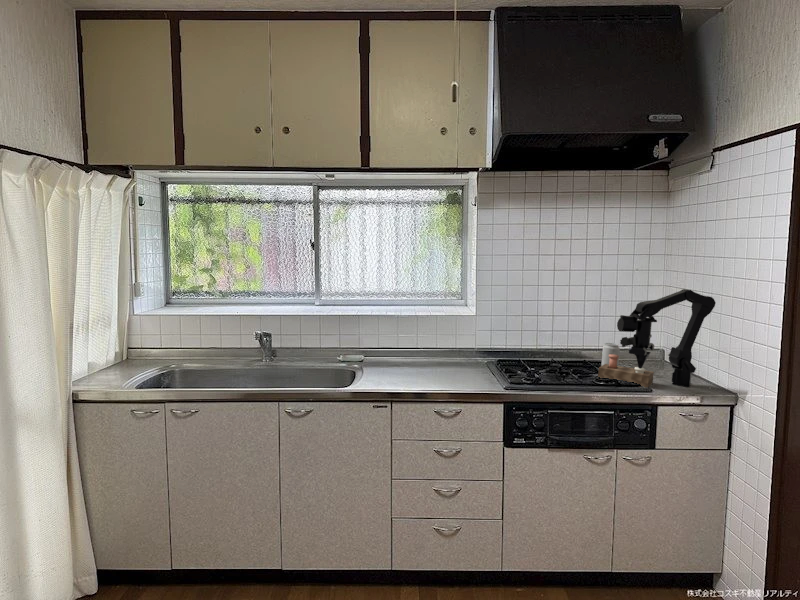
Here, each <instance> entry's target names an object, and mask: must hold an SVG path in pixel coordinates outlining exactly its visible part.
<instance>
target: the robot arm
mask: <svg viewBox="0 0 800 600" xmlns="http://www.w3.org/2000/svg"><path fill="white" fill-rule="evenodd" d="M684 301H687V302H689V303H691V316H690V318H689V320H688V323H687V325H686V328H685V330H684V332H683V335H682V337H681V340H680V342H679V344H678V345H677V346H676V347H674V346H672V347H671V348H670V352H669V354H668V355H667V356H668V362H669V364H671V368H672V369H674V370H673V372H672V373H671V384H672V385H676V386H680V387H687V388H690V387H691V385H692V383H691V382H692V374H693V373H695V372H696V369H697V367H695V365H694V364H693V363H692V358H693V355H692V349H693V346H694V343H695V342H696V338H697V337H698V334H699V332H700V329H701V327H702V325H703V323H704V321H705V318H706V317H707V316H709V315H710V314H711V313H712V311H713V310H714V308H715V307H716V300H715V298H713V297H712V296H709V295H703V294H701V293H697V292H695V291H693V290H692V289H686V288H683V289H680V290H678V291H677V292H674V293H671V294H669V295H665V296H663V297H661V298H657V299H654V300H652V299H651V300H644V301H641V302H638V303H637V304H636V306H635V308H634V310H633V311H632V312H631V313H630V314H629V315H620V316H619V319H618V320H617V323H616V324H617V325H616V326H617V327H616V328H617V330H618V331H619V332H627V333H629V332H631V333H634V332H635V334H633V336H630V337H627V336H625V337H624V336H623V337H621V339H620V342H619V343H620V345H621V347H622V348H625V347H629V346H631V347H630V348H628V354H630V355H634V356H635V358H636V361H637V367H638V368H640V369H641V368H644V365H645V363H646V362H647V360H648V358H649V356H650V355H651V351H655V344H654V343H653V342H651V338H652V334H651V333H652V323H658V320H657V319H655V317H654V316H655V315H656V314H658V313H659V312H661V310H663V309H665V308H669V307H671V306H674V305H676V304H679V303H682V302H684ZM648 350H651V351H648ZM689 386H690V387H689Z"/></svg>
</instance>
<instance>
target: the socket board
mask: <svg viewBox="0 0 800 600" xmlns="http://www.w3.org/2000/svg"><path fill="white" fill-rule="evenodd" d="M634 369H635V367H634V368H633V367H627V366H622V365H620V366H619V365H618V366H617V369H613V368H609V364H604V365H603V366H601V365H600V366H599V367H598V372H597V373H598V374H597V378H598V377H600V378H609V379H617V380H623V381H627V382H634V383H637V384H640V385H641V386H644V387H643V388H646V387H647V389H648V388H649V387H650V386H651V385H653V383H654V373H655V372H654V371H651V370H647V369H645V371H644V374H643V373H637V372H636V370H634Z"/></svg>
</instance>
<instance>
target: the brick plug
mask: <svg viewBox="0 0 800 600" xmlns="http://www.w3.org/2000/svg"><path fill="white" fill-rule="evenodd" d="M609 357H610V360H609V368H613V369H617V359H618V358H619V359H620V355H619V356H618V355H614V354H609Z"/></svg>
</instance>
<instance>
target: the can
mask: <svg viewBox="0 0 800 600" xmlns="http://www.w3.org/2000/svg"><path fill="white" fill-rule="evenodd" d="M620 349H621V348H620V346H619V344H617V343H614V342H605V343H604V345H603V346H602V354H601V363H600V367H601V366H603V365H604V364H609V360H610V357H609V354H614V355H618V356H619V358H618V359H617V366H619V365H620V364H619V362H620V361H619V360H620Z"/></svg>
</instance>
